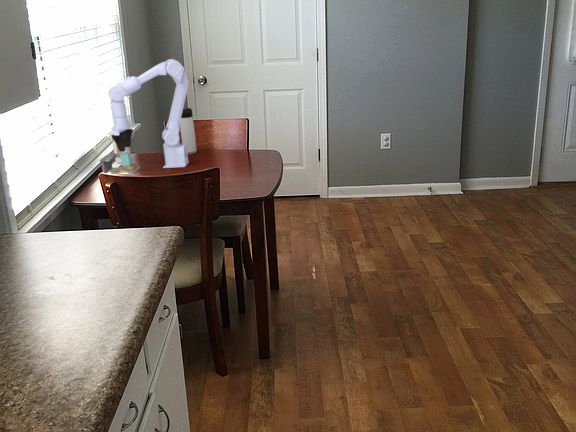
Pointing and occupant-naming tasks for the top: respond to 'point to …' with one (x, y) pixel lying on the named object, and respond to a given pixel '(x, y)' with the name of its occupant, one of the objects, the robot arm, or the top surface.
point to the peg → (126, 159)
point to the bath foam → (116, 150)
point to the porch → (118, 170)
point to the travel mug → (188, 131)
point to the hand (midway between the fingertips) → (125, 149)
